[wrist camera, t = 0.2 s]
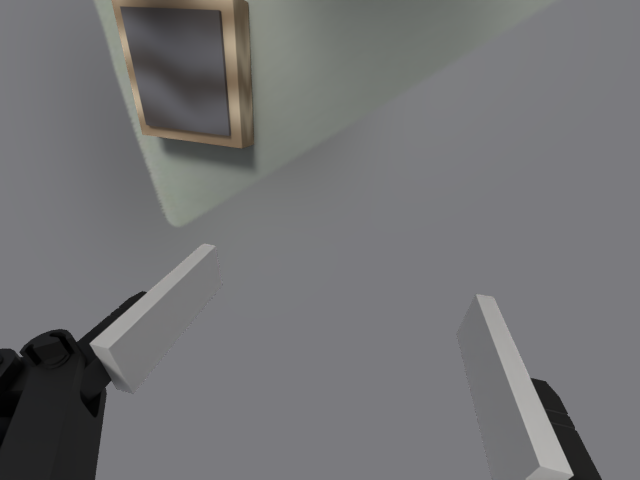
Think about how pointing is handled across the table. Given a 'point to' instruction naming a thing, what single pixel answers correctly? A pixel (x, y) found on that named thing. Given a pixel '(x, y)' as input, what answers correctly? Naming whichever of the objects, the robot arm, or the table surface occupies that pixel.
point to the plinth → (189, 68)
